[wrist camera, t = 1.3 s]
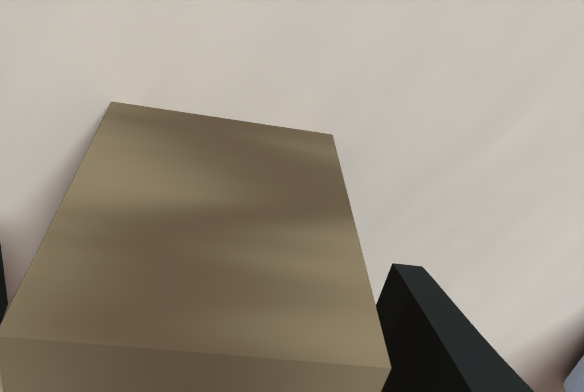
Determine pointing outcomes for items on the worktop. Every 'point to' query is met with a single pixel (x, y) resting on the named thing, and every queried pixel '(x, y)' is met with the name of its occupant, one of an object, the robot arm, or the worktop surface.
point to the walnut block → (197, 267)
